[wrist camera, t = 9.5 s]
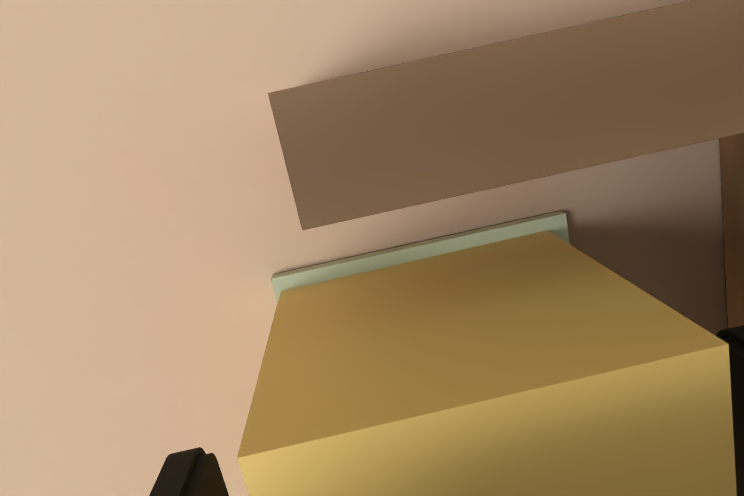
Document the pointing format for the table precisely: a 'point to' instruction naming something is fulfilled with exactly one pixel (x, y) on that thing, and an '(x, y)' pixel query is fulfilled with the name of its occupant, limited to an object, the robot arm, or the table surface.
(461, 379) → the cube
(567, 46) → the brown l-shaped piece
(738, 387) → the robot arm
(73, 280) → the table surface
